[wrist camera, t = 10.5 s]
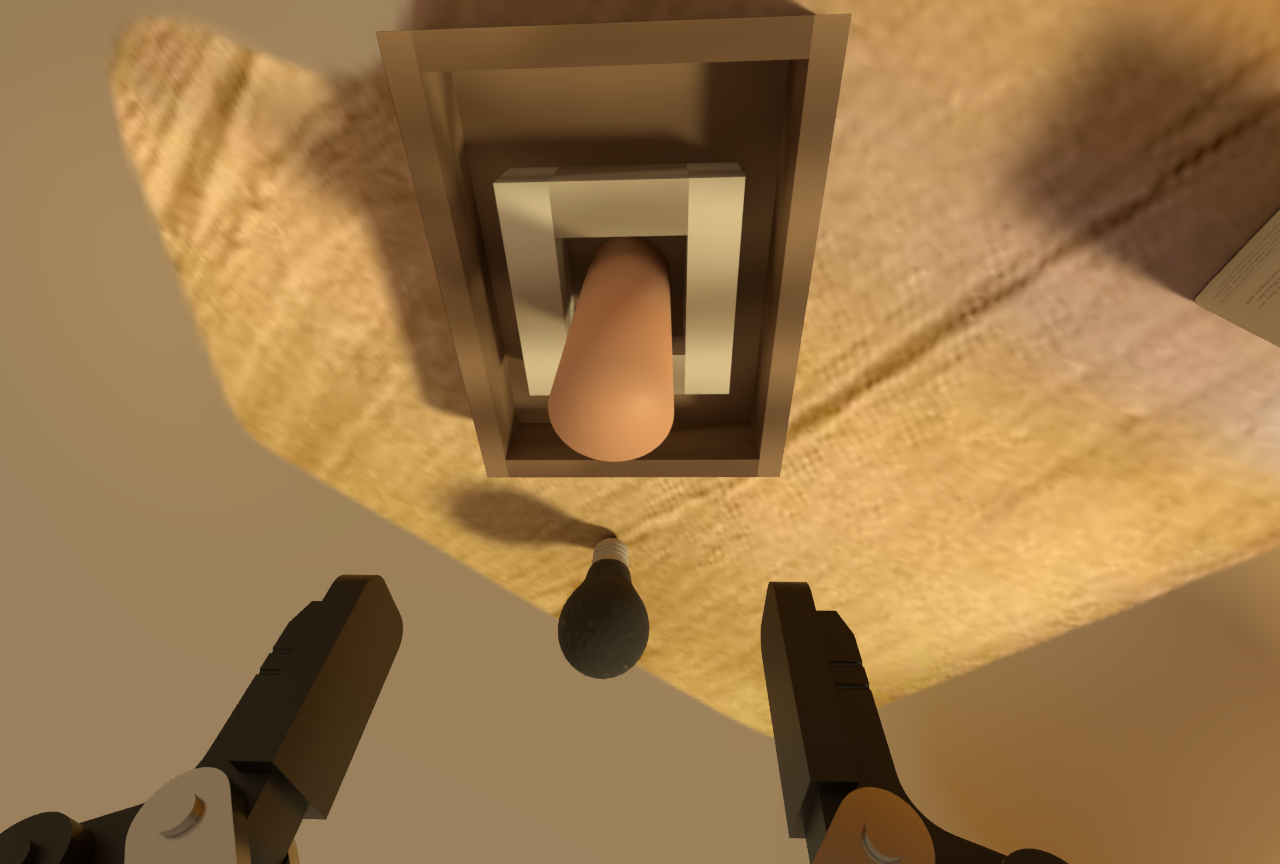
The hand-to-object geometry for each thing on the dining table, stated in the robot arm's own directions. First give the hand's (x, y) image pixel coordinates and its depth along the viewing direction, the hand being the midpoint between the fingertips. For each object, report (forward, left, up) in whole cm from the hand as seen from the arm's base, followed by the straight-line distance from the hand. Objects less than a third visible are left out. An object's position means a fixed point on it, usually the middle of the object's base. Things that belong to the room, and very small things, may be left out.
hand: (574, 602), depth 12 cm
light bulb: (+20, -2, -21) cm, 29 cm away
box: (0, 0, -20) cm, 20 cm away
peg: (0, 0, -19) cm, 19 cm away
